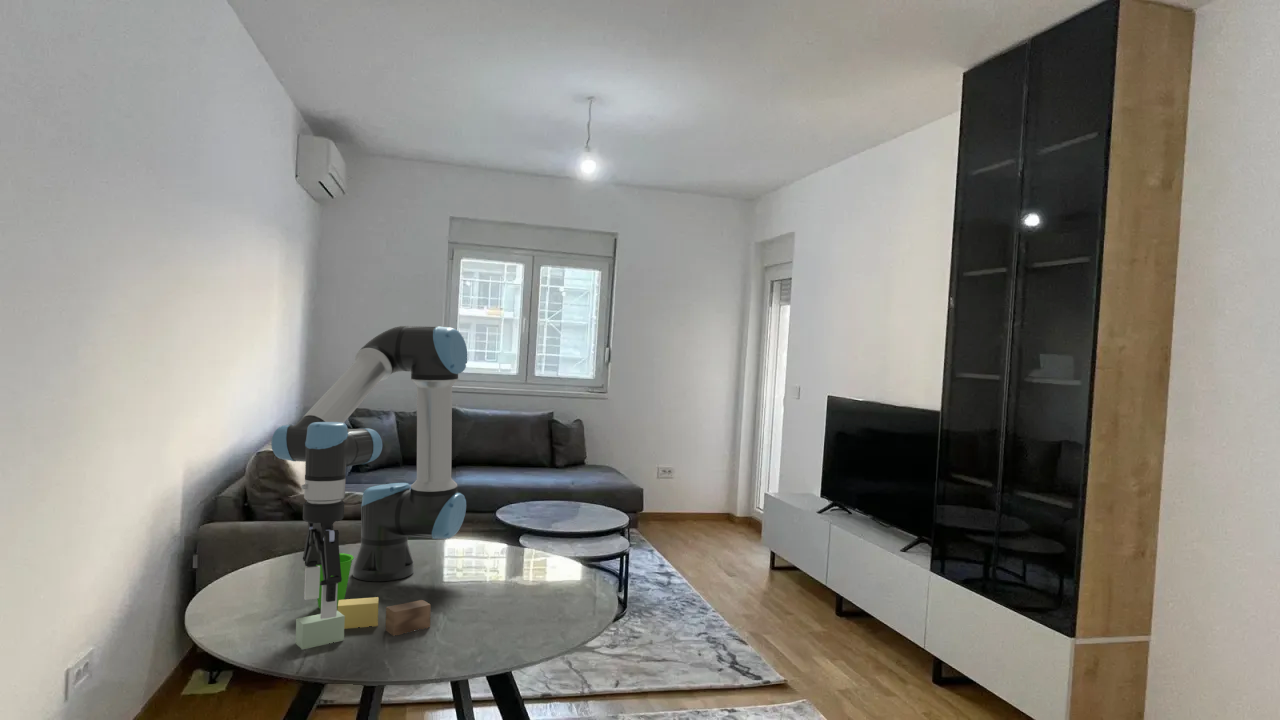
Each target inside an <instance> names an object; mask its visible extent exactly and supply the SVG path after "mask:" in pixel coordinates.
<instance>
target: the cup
mask: <svg viewBox="0 0 1280 720" xmlns="http://www.w3.org/2000/svg"><path fill="white" fill-rule="evenodd" d="M339 554H340V566H341V577H342V581H341V582H338V590H337V610H338V601H339V600H345V599H346V593H347V589H348V588H347V587H348V583H349V579H350V573H351V568H352V562H353V560H354V558H355V557H354V555H352V554H349V553H342V552H339ZM320 559H321V558H320ZM316 566H320V582H321V581H323V573H322V566H321V565H316ZM331 577H333V576H331ZM321 594H322V585H321V586H320V585H319V598H316V599H317V600H316V601H317V605H318V606H317V607H318V608H319V610H321Z"/></svg>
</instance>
